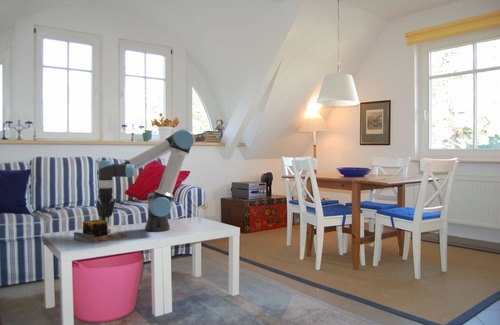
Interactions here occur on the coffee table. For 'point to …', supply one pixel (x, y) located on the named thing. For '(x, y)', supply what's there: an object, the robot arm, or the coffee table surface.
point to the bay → (93, 239)
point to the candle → (95, 227)
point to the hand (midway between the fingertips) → (105, 228)
